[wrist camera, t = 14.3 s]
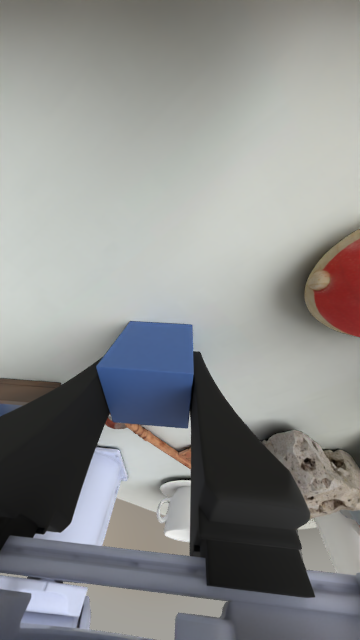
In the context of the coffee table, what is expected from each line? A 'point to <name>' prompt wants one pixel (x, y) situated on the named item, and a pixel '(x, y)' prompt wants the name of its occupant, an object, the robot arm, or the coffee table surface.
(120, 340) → the blue block
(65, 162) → the coffee table surface
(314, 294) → the ladybug figurine
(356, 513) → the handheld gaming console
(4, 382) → the sorter
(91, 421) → the robot arm
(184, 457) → the key
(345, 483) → the stone
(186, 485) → the teacup
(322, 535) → the mug
